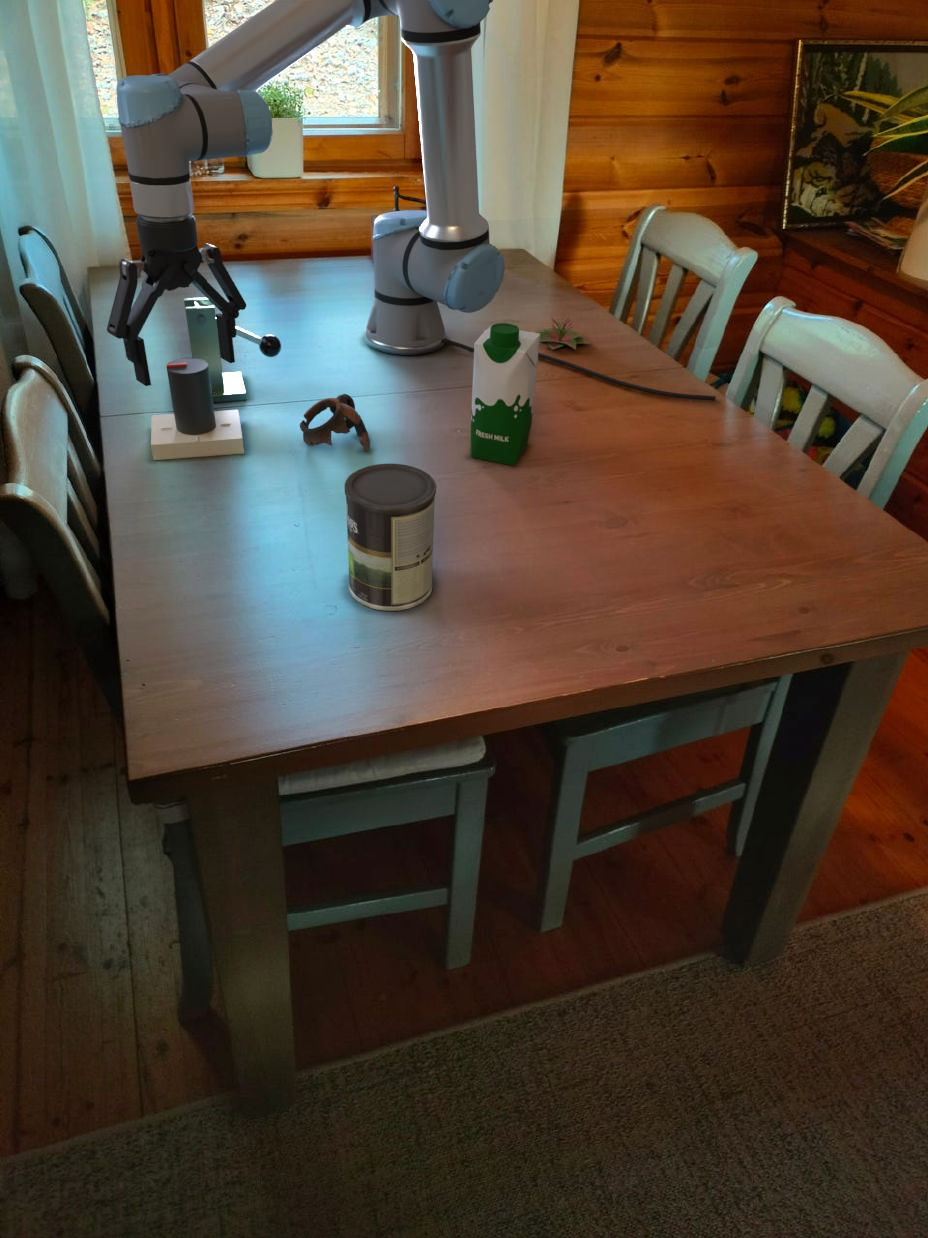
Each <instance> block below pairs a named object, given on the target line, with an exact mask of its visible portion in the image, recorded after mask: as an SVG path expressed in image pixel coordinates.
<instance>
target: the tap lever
mask: <svg viewBox="0 0 928 1238" xmlns="http://www.w3.org/2000/svg"><path fill="white" fill-rule="evenodd" d="M196 306H203V305H201V304H199V303H197V302H194V304H193V306H192V307H196ZM216 324H217V323H216ZM236 336H238V337H240V338H242V339H245V340H247V341H248V342H251V343H253V344H256V345H258V347H259V350H260V352H261V354H262V355H263V356H264V357H267V358H274V357H277V356H278V355H279V354H280V352H281V350H282V342H281V340H280V339H279V337H277V336H276V335H274V334H265V335H264V336H261V337H260V336H259V335H256V334H254V333H253V332H250V331H248V330H245V329H244V328H241V327H239V326H237V325H236Z"/></svg>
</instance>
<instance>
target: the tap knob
mask: <svg viewBox="0 0 928 1238" xmlns="http://www.w3.org/2000/svg"><path fill="white" fill-rule="evenodd" d="M166 373H167V377H168V379H167V380H168V385H169V391H170V392H169V393H170V398H171V404H172V410H173V414H174V417H175V423H176V429H177V430H178V431H179V432H181V433H184V434H188V435H199V434H204V433H208V432H210V431H212V430H213V429H214V428H215V427H216V420H215V412H214V411H215V405H214V402H213V397H212V390H211V382H210V375H209V367H208V363H207V362H206V361H204V360H202V359H198V358H192V357H181V358H178V359H174V360H171V361H169V362H168V363H166Z"/></svg>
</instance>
